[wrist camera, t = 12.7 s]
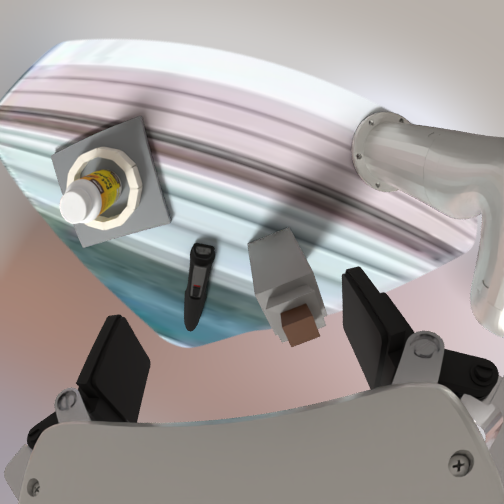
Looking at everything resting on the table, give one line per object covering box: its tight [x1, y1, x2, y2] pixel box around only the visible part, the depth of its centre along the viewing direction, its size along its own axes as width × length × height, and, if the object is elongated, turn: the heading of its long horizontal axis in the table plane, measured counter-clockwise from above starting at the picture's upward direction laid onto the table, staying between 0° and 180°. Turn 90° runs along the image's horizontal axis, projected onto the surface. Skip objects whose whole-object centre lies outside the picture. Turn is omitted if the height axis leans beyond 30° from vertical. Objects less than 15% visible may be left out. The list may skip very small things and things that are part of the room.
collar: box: [51, 116, 171, 248], centre depth 35 cm, size 16×16×3 cm
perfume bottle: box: [248, 227, 327, 347], centre depth 36 cm, size 7×7×18 cm
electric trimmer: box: [184, 243, 215, 331], centre depth 44 cm, size 4×16×3 cm, turn 165°
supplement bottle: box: [60, 169, 122, 224], centre depth 31 cm, size 6×6×10 cm
